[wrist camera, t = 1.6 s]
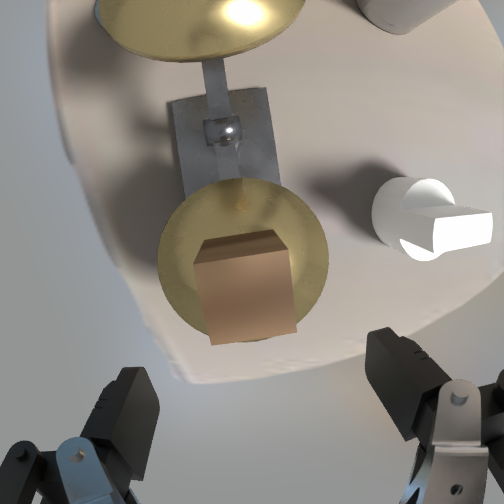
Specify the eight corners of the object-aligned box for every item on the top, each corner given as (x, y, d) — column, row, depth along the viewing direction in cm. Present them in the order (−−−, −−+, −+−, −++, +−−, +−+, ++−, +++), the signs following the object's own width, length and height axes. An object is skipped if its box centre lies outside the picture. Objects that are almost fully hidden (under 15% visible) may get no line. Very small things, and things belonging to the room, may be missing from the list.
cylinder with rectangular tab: (372, 252, 33) (429, 287, 21) (368, 178, 30) (432, 182, 19) (427, 243, 33) (488, 270, 21) (426, 176, 31) (492, 182, 19)
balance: (154, 33, 24) (107, -49, 8) (263, 16, 25) (286, -76, 9) (194, 300, 33) (167, 397, 17) (303, 283, 33) (357, 368, 17)
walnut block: (204, 239, 20) (192, 264, 15) (272, 229, 20) (288, 249, 15) (216, 302, 22) (211, 345, 16) (280, 292, 22) (296, 332, 16)
